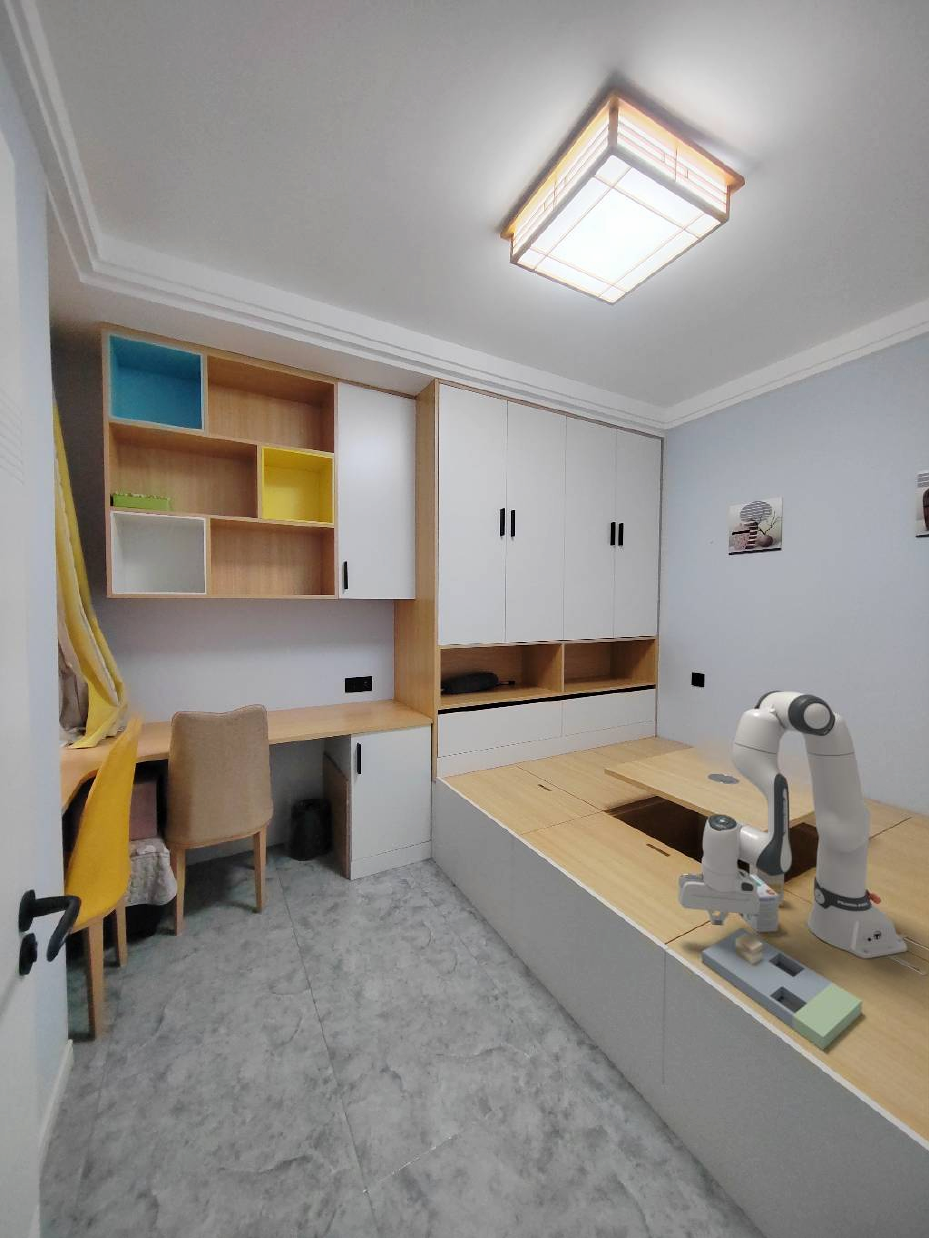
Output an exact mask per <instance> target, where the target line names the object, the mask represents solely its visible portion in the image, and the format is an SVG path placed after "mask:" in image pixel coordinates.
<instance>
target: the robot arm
mask: <svg viewBox="0 0 929 1238" xmlns="http://www.w3.org/2000/svg"><path fill="white" fill-rule="evenodd" d="M756 703H757V704H756V705H755V707H753V708H752V709H748V710H746V711H744V713H742V715H741V718H740V720H739V723H738V726H737V728H736V731H735V734H734V740H733V745H732V750H731V762H732V763H733V766H734V768H735V770H736V771H737V772H738V773H739V774H740V775H741V776H742V777H743V778H744V779H746V780H747V781H748V782H750V783H751V784H752V785H753V786H755V787H756V788H757V789H758V790H759V792H761V794H762V795H763V797H765V800H766V803H767V832H766V831H764V830H762V829H760V828H757V827H754V826H752V825H750V824H747V823H745V822H743V821H740V820H739V819H735V818H733V817H731V816H729V815H726V814H723V813H722V814H720V813H719V814H712V815H710V816H709V817H708V818H707V819H706V822H705V826H704V830H703V837H702V850H703V855H702V858H701V870H700V871H701V873H690V872H685V873H684V874H681V875H680V876H679V878H678V886H679V887H678V893H677V899H678V902H679V904H680V905H681V907H683V909H691V910H692V909H693V910H700V911H707V913H708V915H709V921H710V924H711V925H712V926H722V927H723V926H724V921H726V919H727V918H728V917H729V913H731V914H732V913H733V914H739V913H740V914H750V915H756V914H758V913H759V911H760V901H759V895H758V893H757V892H756V891H757V888H758V887H757V884H756V883H755V881H754V880H753V878H752V877H751V876H750V873H748V872H747V871H746V870H744V869H742V868H739V866H738V860H741V861H742V862H745V863H747V864H749V865H750V864H751V865H753V866H755V867H756V868H757V869H759V870H761V871H763V872H764V873H766V874H768V875H769V876H778V875H782V874H784V875H785V874H786V873H788V872H789V871H790V868H791V867H792V862H793V861H792V860H793V853H792V845H791V838H790V792H789V783H788V780H787V778H786V777H785V775H783V774H782V773H781V770H780V767H779V761H778V760H779V757H778V756H779V751H780V746H781V745H780V743H781V739H782V738H783V736H784V734H786V733H787V732H789V731H790V732H798V733H801V734H802V736H803V738H804V742H805V743H804V744H805V750H806V756H807V760H808V767H809V771H810V772H809V773H810V777H811V790H812V802H813V811H814V817H815V825H816V826H815V827H816V832H817V833H818V844H817V845H818V846H817V852H816V872H815V873H816V876H815V877H814V880H813V881H814V882H813V896H814V899H813V903H812V904H813V905H812V909H811V911H810V914H809V917H808V919H807V922H806V923H807V927H808V929H809V931H811V932H812V934H814V935H815V936H816V937H817V938H819V939H820V940H822V941H823V942H825V943H827V944H829V945H831V946H832V947H836V948H838V949H842V950H843V951H844V950H845V951H847V952H849V953H851V954H853V955H855V956H857V957H859V958H862V959H870V958H875V957H876V958H877V957H880V956H888V955H893V954H898V953H904V952H907V951H908V946H907V944H906V942H905V940H903V938H902V937H901V936H900V935H899V934H898V933H897V932H896V928H895V925H894V923H893V921H892V920H891V919H890V917H889V916H888V915H887V914H885V913H884V912H883V911H882V910H880V908H878V906H876V905H879V904H881V902H882V898H881V897H879V895H876V894H875V893H873V892H872V893H871V892H870V891H869V890H868V889H867V885H866V884H867V870H868V867H867V866H868V855H869V854H868V853H869V840H870V825H871V815H870V811H869V807H868V805H867V804H866V803H865V801H864V800H863V797H862V796H863V794H862V787H861V785H862V784H861V777H860V771H859V766H858V762H857V758H856V757H857V755H856V751H855V747H854V743H853V739H852V737H851V733H850V731H849V727H848V725H847V723H846V721H845V719H844V717H842V715H840V714H838V713H837V712H833V710H832V708H831V706H830V705H829V704H828V703H827V702H826V701H825V700H824V699H822V698H821V697H818V696H816V695H813V694H806V693H802V692H798V691H782V690H773V691H769V692H767V693H764V694H763V695H761V697H760V698H759V700H758V701H757V702H756ZM871 901H872V902H873V903H872V902H871ZM874 904H876V905H874ZM715 912H719V913H720V914H718V915H714V914H715ZM740 914H739V915H740Z"/></svg>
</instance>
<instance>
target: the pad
mask: <svg viewBox="0 0 929 1238" xmlns="http://www.w3.org/2000/svg"><path fill="white" fill-rule="evenodd" d="M862 1004H863V1000H862V999H860V998H858V997H857V996H855V995H853V994H852V993H850V992H848V991H847V990H845V989H843V988H842V987H840V986H838V985H837V984H835V983H834V982H832V983H831V984H830V985H829V986H827V987H826V988H825V989H824V990H823V991H821V992H820V993H819V994H818V995H817V996H815V997H814V998H813V999H812V1000H811V1001H809V1002H808V1003H807V1004H806V1005H805V1006H804V1007H802V1008H801V1009H800V1010H799V1011H798V1012H796V1013H795V1014H794V1015H793V1022H792V1028H791V1029H792V1030H794V1031H796V1032H797V1033H798V1034H799V1035H801V1036H802V1037H803V1038H804V1039H806V1040H808V1041H809V1042H810V1043H812V1044H813V1045H815V1046H816V1047H818V1048H819V1049H820V1050H822V1051H824V1050H825V1049H826V1048H827V1047H828V1046H829V1045H830V1044H831V1043H832V1042H833V1041H835V1040H836V1039H837V1037H838V1036H839V1035H841V1034H842V1033H843V1031H844V1030H845V1029H847V1028H848V1027H849V1026H850V1025H851V1024H852V1023H853V1022H854V1021H856V1019H857V1018H858V1017H859V1016H860V1015H862V1012H863V1011H862V1008H863V1005H862Z"/></svg>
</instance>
